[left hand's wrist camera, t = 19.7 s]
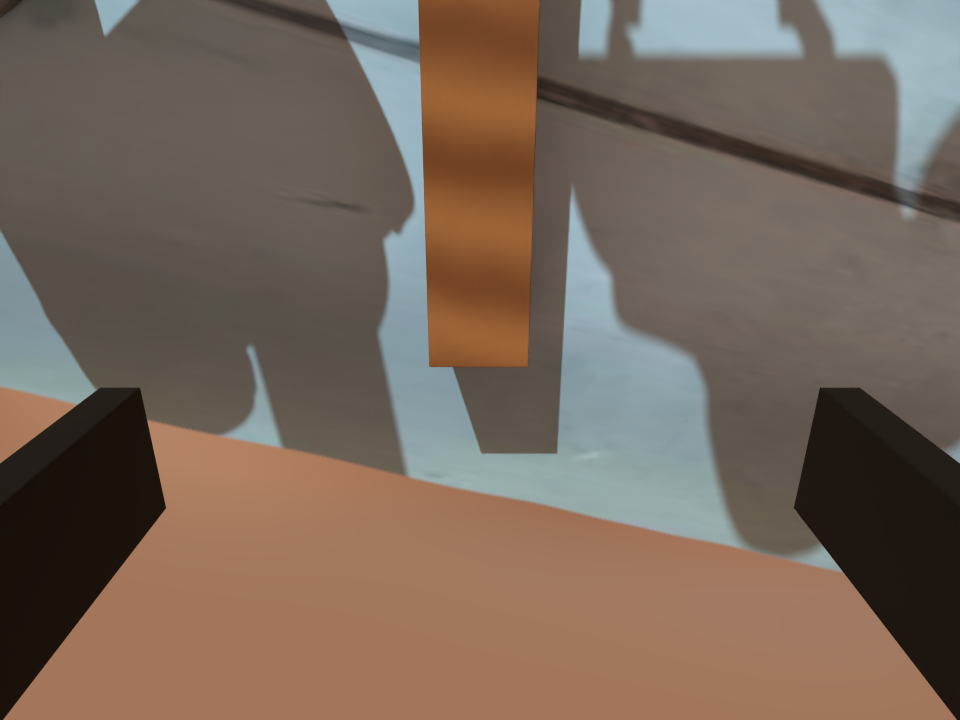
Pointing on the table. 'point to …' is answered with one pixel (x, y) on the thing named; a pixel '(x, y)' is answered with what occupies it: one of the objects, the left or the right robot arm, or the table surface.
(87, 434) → the left robot arm
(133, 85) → the table surface
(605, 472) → the table surface
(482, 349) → the post
